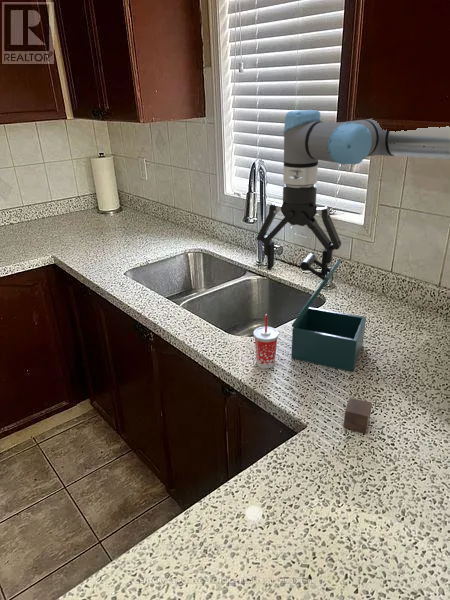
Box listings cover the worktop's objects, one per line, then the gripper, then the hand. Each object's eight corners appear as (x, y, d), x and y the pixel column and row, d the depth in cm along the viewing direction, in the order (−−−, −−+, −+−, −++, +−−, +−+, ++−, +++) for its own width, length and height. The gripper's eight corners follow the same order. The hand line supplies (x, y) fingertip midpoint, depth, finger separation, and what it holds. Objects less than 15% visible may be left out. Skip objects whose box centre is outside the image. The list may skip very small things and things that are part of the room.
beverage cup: (282, 365, 112) (284, 316, 105) (263, 373, 109) (263, 323, 103) (268, 353, 116) (268, 306, 110) (248, 361, 114) (248, 313, 107)
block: (369, 419, 93) (372, 402, 91) (365, 434, 90) (368, 416, 88) (347, 414, 95) (349, 397, 93) (343, 427, 91) (345, 410, 89)
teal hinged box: (362, 346, 118) (366, 317, 114) (353, 372, 108) (356, 341, 104) (305, 334, 124) (306, 306, 120) (291, 358, 114) (292, 328, 110)
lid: (341, 259, 111) (316, 243, 112) (329, 279, 101) (301, 260, 102) (308, 306, 120) (285, 290, 121) (293, 327, 110) (268, 310, 111)
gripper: (242, 184, 103) (244, 269, 112) (352, 191, 93) (344, 284, 102) (254, 178, 109) (255, 259, 118) (359, 184, 99) (350, 272, 108)
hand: (296, 271), depth 110 cm, fingers open, 13 cm apart
